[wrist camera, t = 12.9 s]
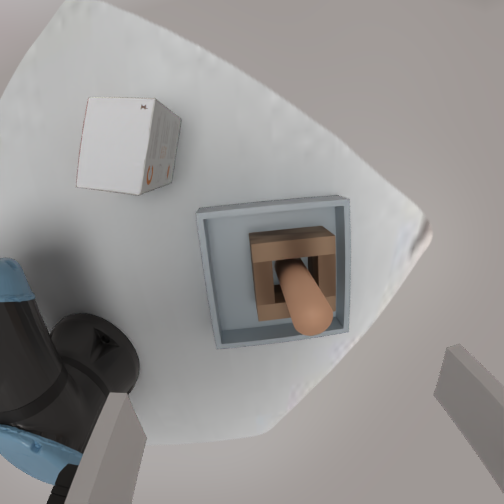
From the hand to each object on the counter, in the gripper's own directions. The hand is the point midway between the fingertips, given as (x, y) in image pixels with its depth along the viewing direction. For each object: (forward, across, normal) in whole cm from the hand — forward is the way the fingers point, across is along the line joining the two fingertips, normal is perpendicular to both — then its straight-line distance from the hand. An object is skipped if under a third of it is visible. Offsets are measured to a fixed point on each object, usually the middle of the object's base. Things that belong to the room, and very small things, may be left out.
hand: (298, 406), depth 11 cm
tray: (+29, +2, -4) cm, 29 cm away
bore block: (+29, +4, -4) cm, 29 cm away
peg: (+28, +4, -4) cm, 29 cm away
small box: (+29, -11, +12) cm, 33 cm away
